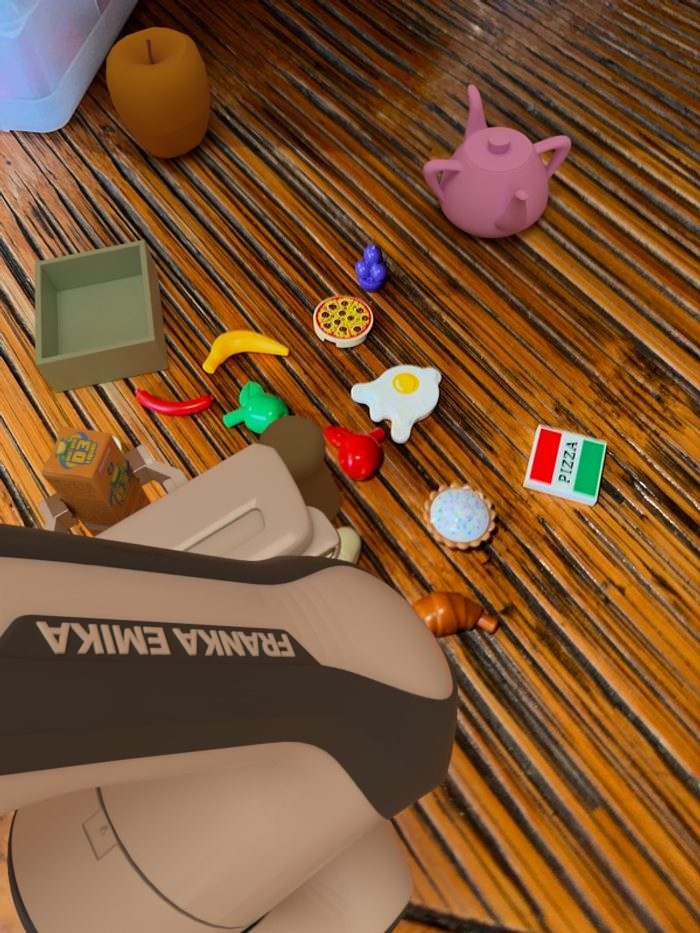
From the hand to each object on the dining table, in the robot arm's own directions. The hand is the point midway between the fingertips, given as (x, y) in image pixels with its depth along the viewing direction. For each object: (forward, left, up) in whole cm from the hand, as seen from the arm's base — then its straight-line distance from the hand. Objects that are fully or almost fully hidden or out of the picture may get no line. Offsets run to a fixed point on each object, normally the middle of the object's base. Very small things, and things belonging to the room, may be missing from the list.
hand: (93, 477), depth 47 cm
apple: (+34, +44, -19) cm, 58 cm away
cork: (+13, -2, -19) cm, 23 cm away
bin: (+12, +27, -19) cm, 35 cm away
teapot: (+51, +10, -19) cm, 55 cm away
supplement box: (0, -1, -6) cm, 6 cm away
